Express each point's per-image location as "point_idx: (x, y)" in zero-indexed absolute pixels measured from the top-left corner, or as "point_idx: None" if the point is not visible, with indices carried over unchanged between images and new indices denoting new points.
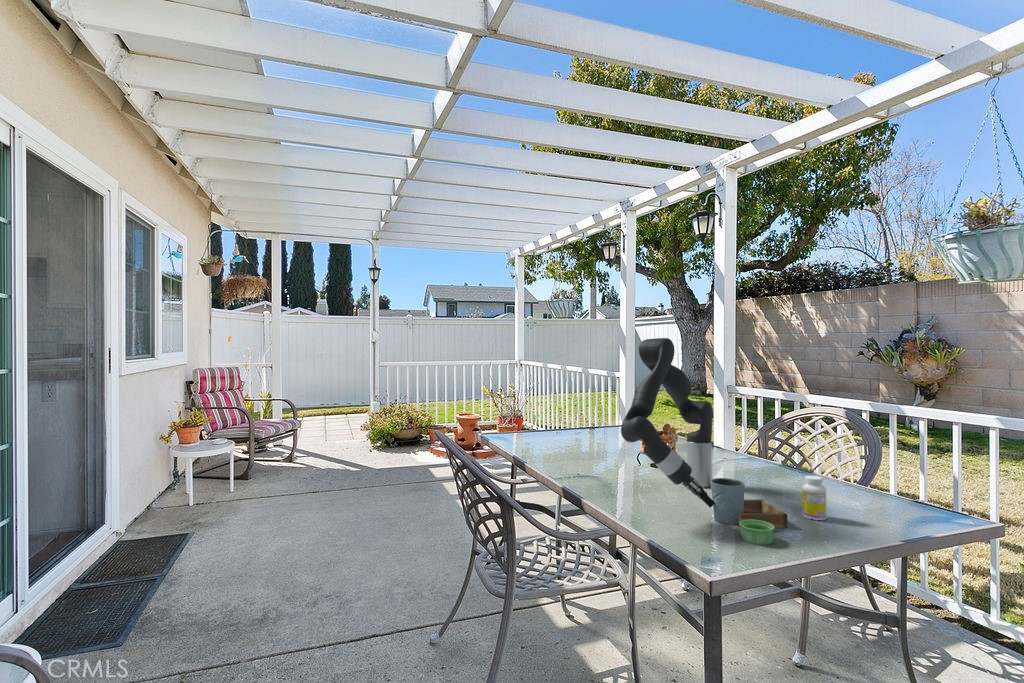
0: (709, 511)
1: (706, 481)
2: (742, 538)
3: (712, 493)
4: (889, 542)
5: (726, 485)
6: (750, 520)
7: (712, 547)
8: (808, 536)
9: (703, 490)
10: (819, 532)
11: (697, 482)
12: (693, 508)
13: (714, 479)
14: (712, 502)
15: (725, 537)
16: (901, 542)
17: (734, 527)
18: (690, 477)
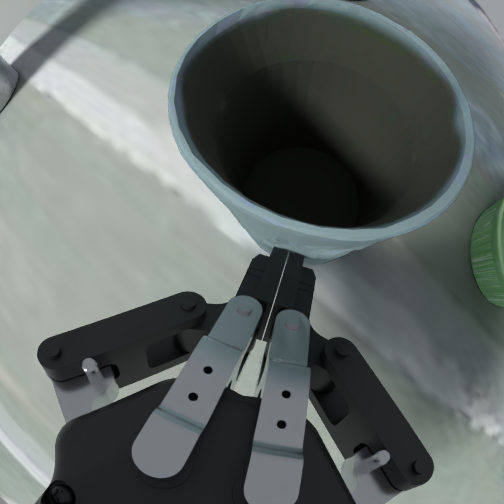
0: (173, 207)
1: (4, 81)
2: (495, 304)
3: (282, 243)
4: (485, 21)
5: (464, 183)
6: (500, 227)
7: (494, 437)
8: (480, 96)
9: (406, 429)
10: (451, 53)
11: (300, 452)
12: (114, 251)
13: (180, 118)
14: (313, 279)
15: (467, 355)
16: (481, 11)
17: (398, 245)
18: (173, 479)
